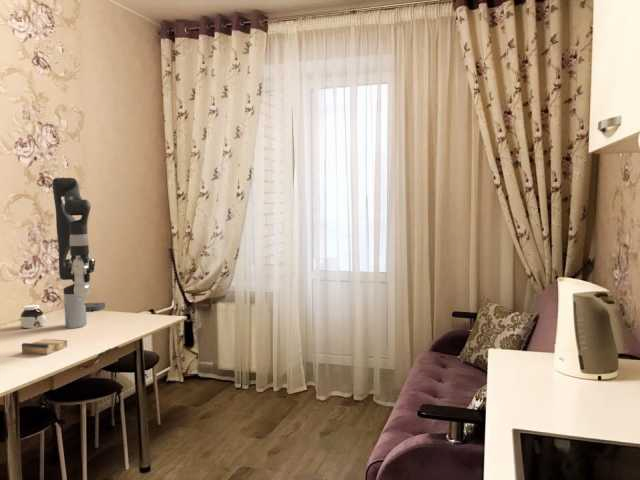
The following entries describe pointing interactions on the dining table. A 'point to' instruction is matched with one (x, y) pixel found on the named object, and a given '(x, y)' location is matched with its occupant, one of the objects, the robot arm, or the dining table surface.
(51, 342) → the dock
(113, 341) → the dining table surface
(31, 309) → the spread jar
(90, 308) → the streaming box
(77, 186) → the robot arm
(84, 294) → the plastic bottle
